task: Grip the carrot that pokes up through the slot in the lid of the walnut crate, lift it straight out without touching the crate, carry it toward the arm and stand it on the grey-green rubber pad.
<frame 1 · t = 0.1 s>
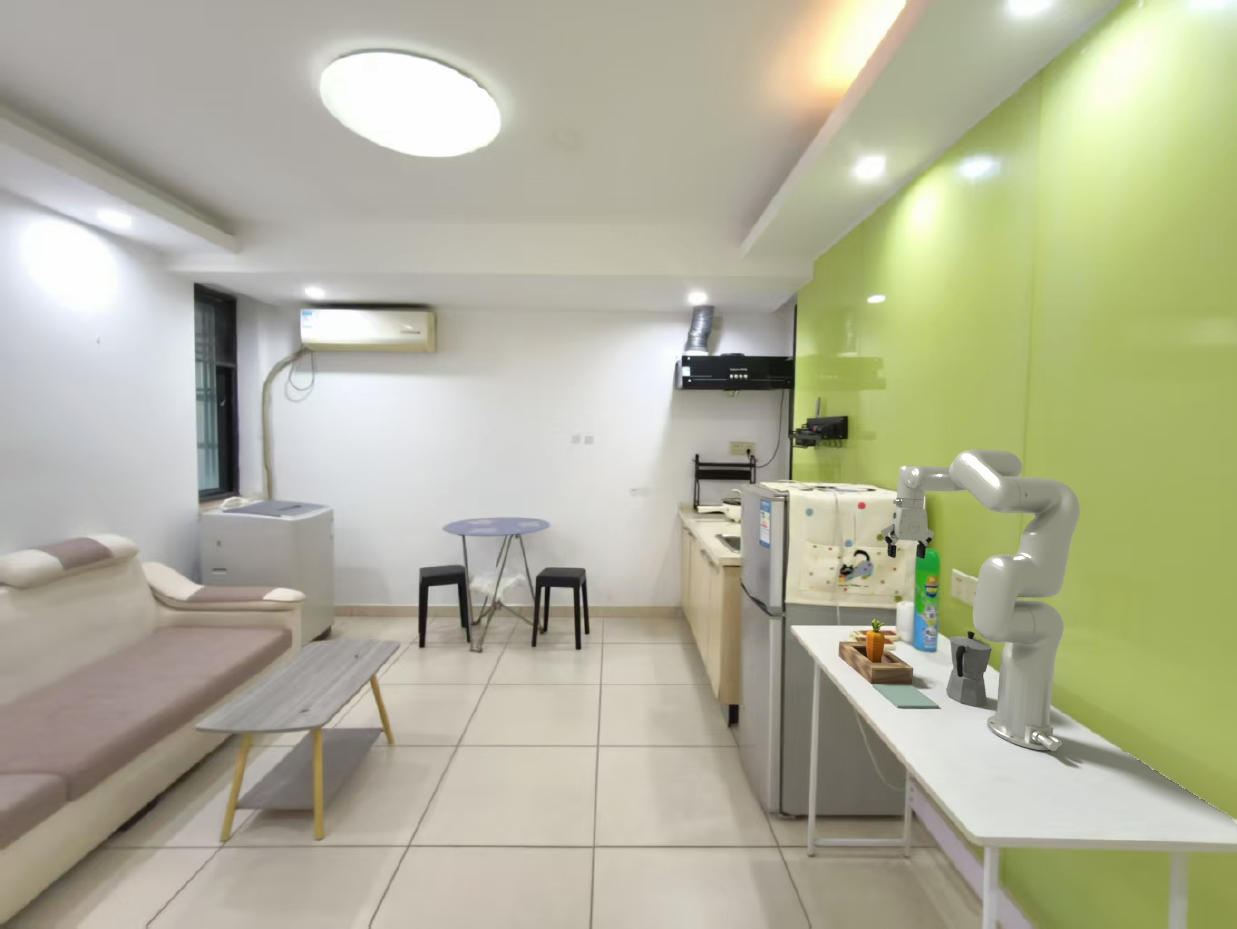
hand: (906, 557, 160), 31 cm above the table, fingers open, 9 cm apart
crate: (873, 669, 148), on the table
pad: (904, 696, 132), on the table
carrot: (873, 669, 148), resting in crate
coffeepot: (964, 700, 132), on the table
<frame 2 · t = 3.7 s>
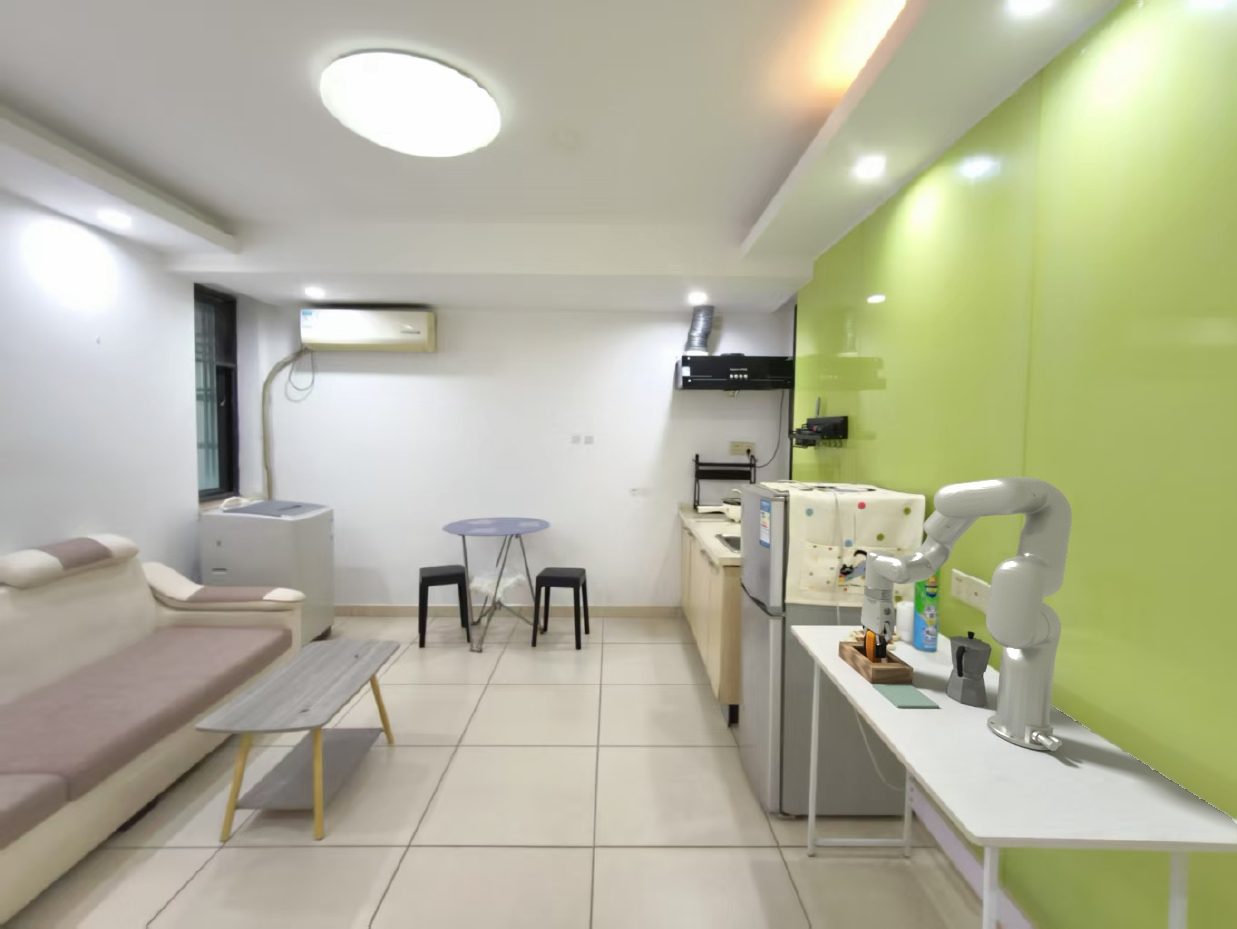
hand: (874, 652, 148), 5 cm above the table, fingers closed on carrot, 5 cm apart
carrot: (873, 669, 148), resting in crate, touching gripper
everything else where it was.
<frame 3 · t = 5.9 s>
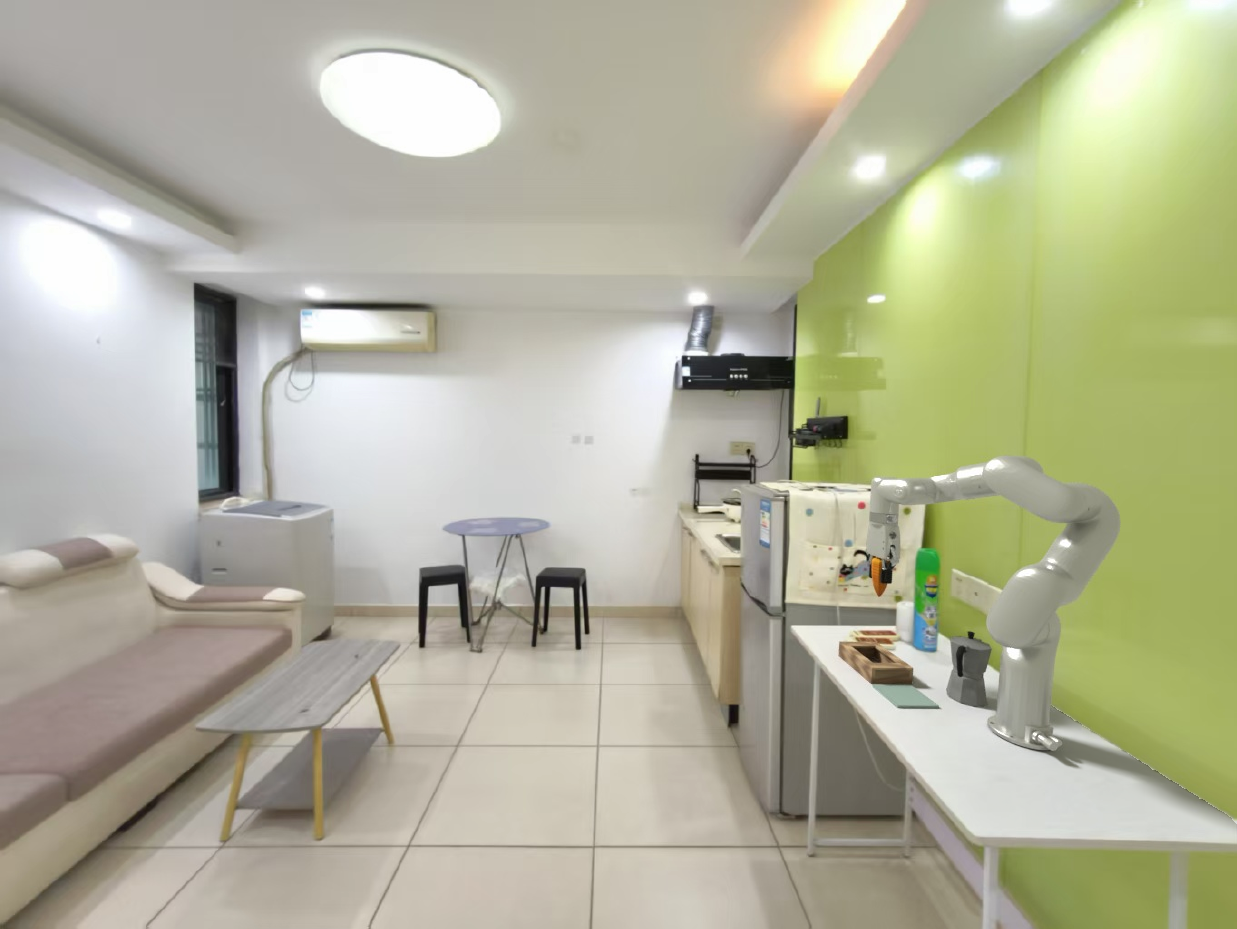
hand: (880, 580, 147), 27 cm above the table, fingers closed on carrot, 5 cm apart
carrot: (879, 597, 147), point 22 cm above the table, touching gripper
everything else where it was.
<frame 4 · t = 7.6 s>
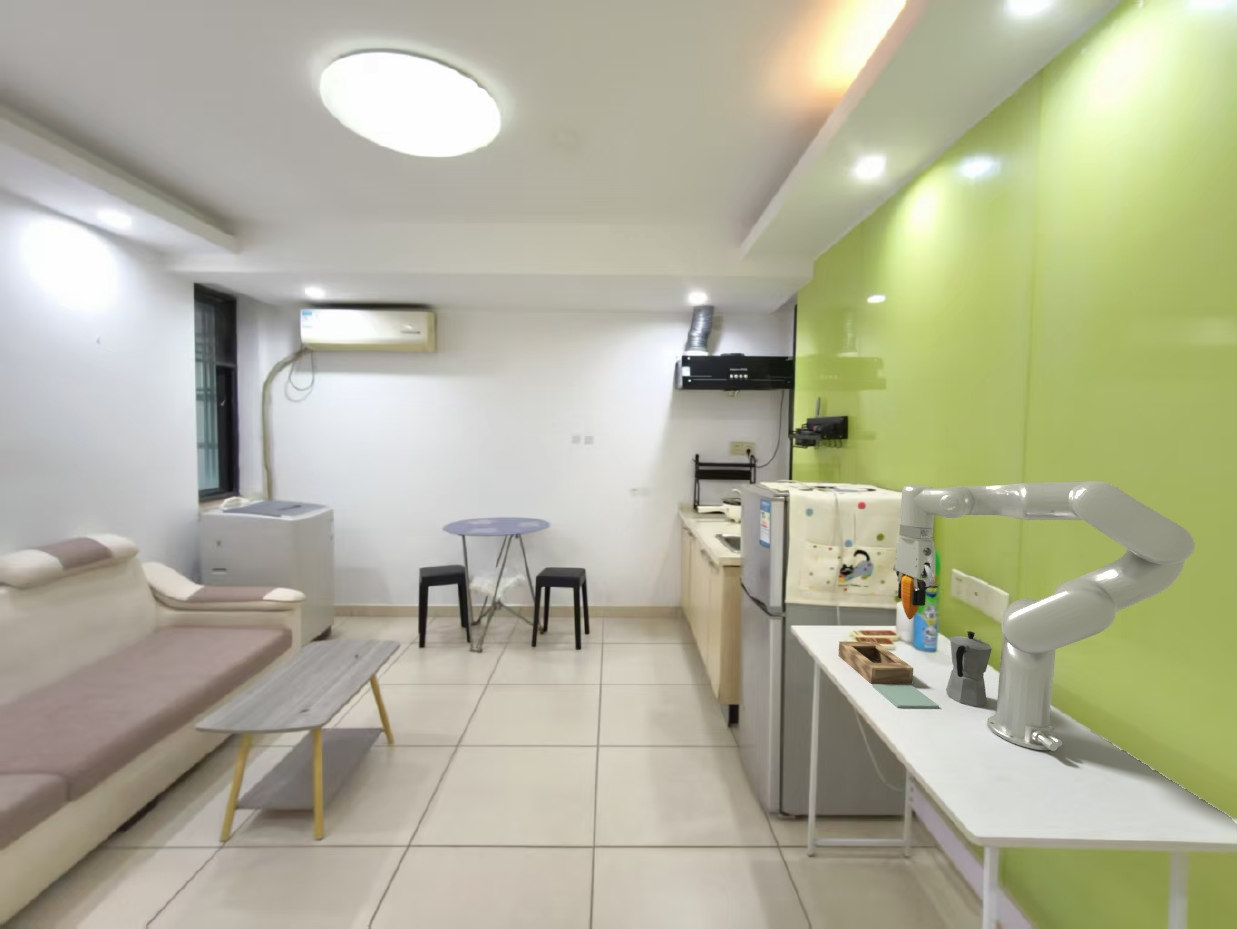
hand: (911, 600, 131), 26 cm above the table, fingers closed on carrot, 5 cm apart
carrot: (909, 620, 131), point 21 cm above the table, touching gripper
everything else where it was.
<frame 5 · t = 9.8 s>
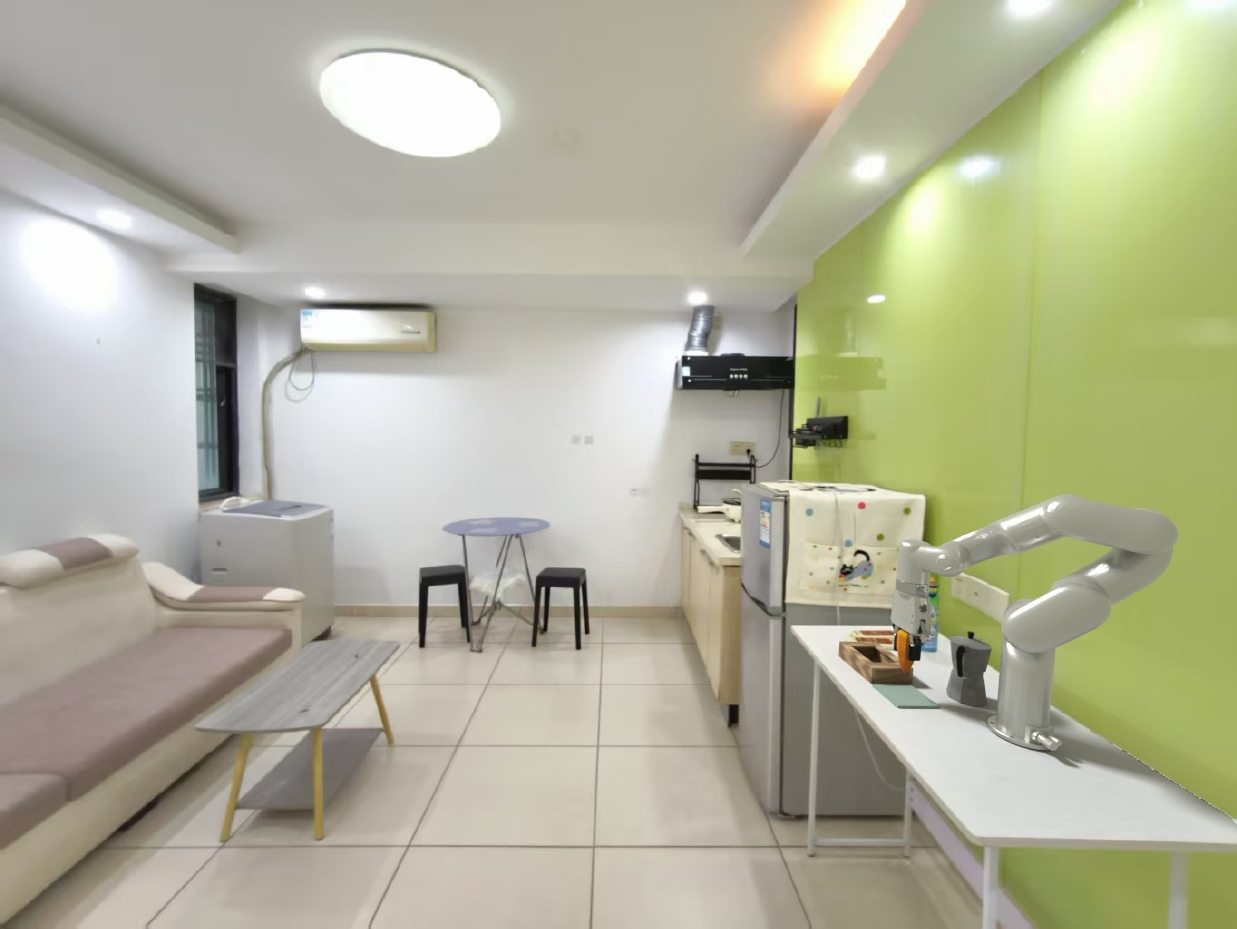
hand: (906, 654, 132), 11 cm above the table, fingers closed on carrot, 5 cm apart
carrot: (904, 673, 132), point 6 cm above the table, touching gripper
everything else where it was.
when the fingers open (7 cm above the table, at t = 11.7 s): carrot drops 1 cm, resting on pad.
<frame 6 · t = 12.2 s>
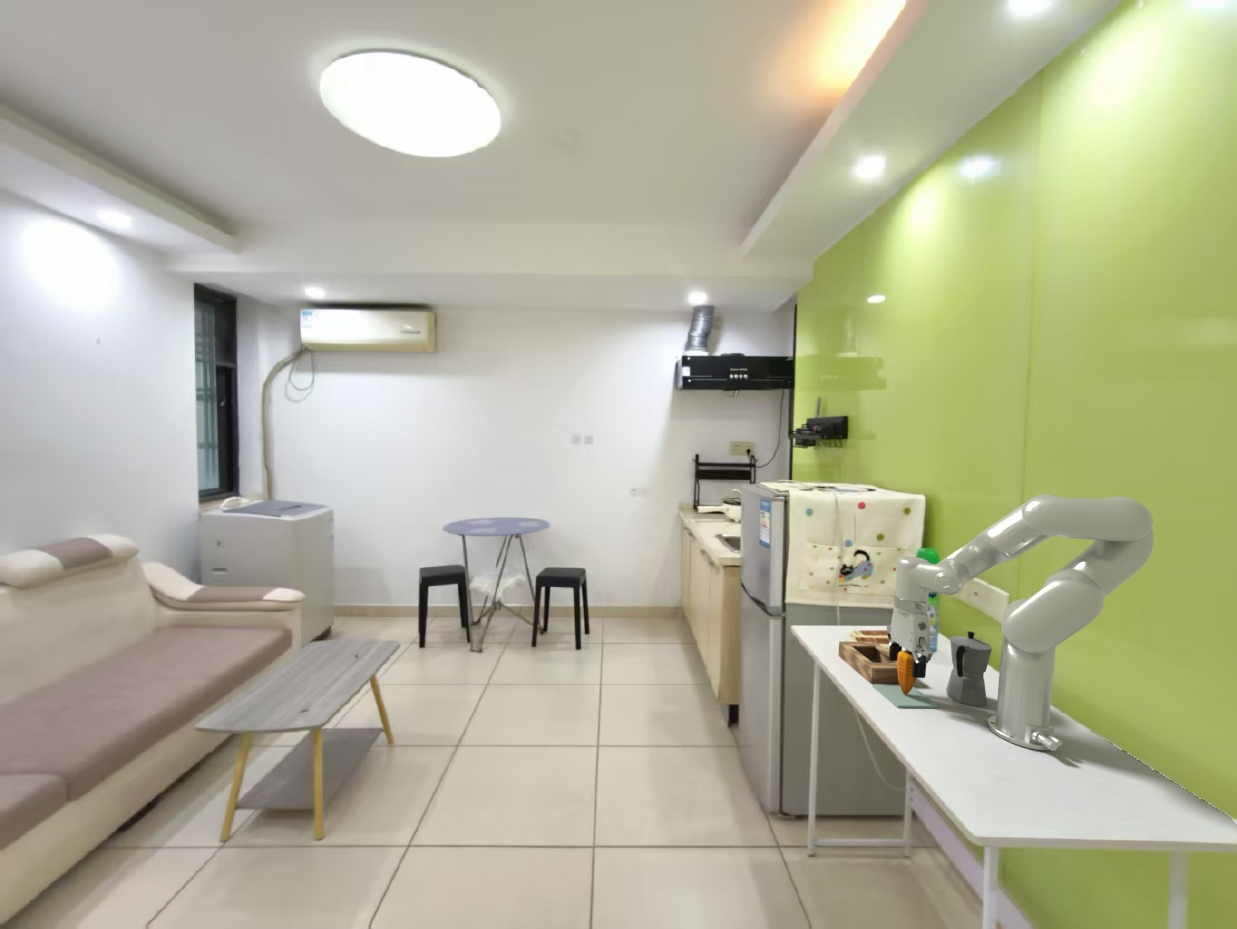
hand: (906, 668, 132), 8 cm above the table, fingers open, 9 cm apart
carrot: (905, 695, 132), resting on pad
everything else where it was.
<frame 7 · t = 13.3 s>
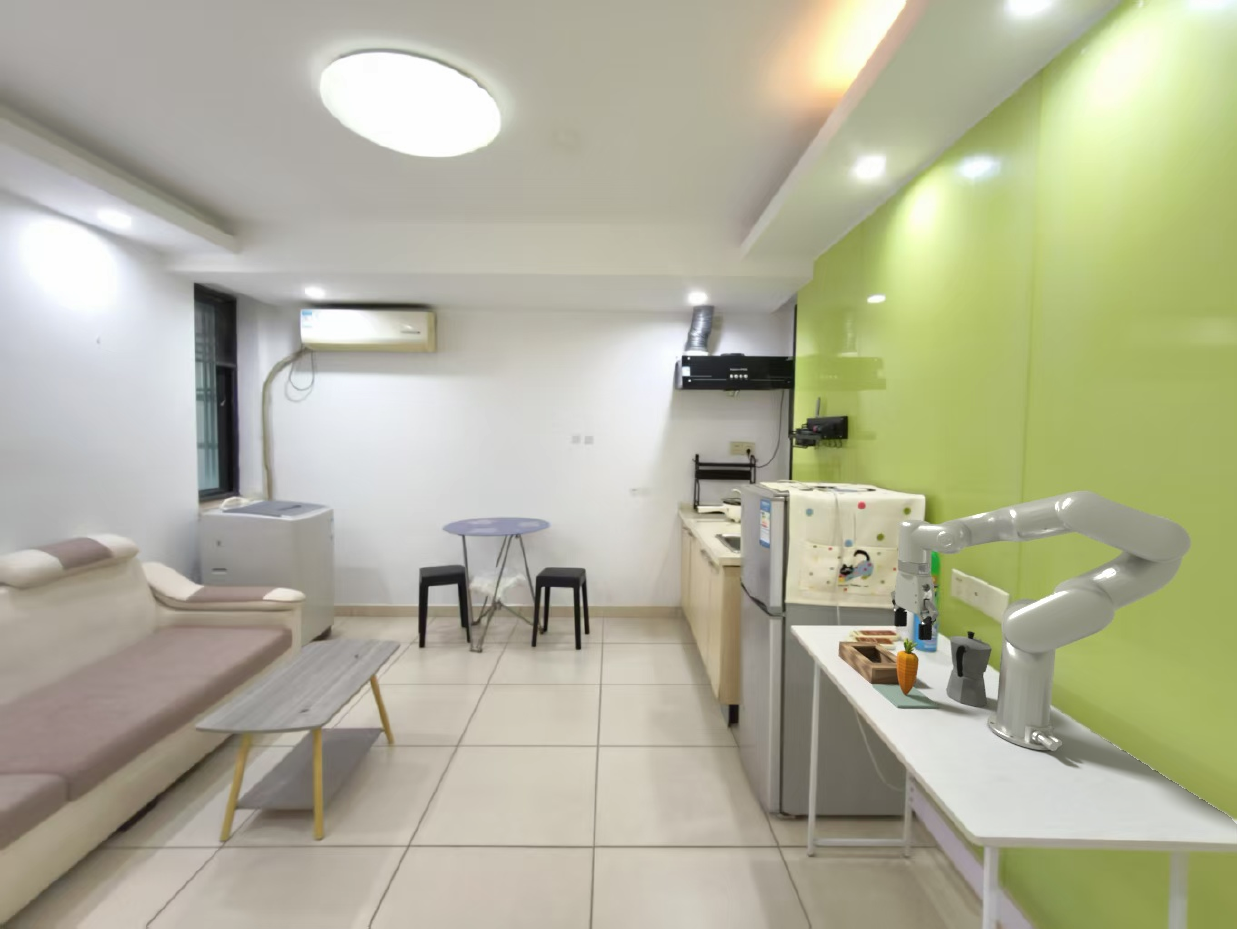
hand: (912, 632, 131), 17 cm above the table, fingers open, 9 cm apart
nothing on the table moved.
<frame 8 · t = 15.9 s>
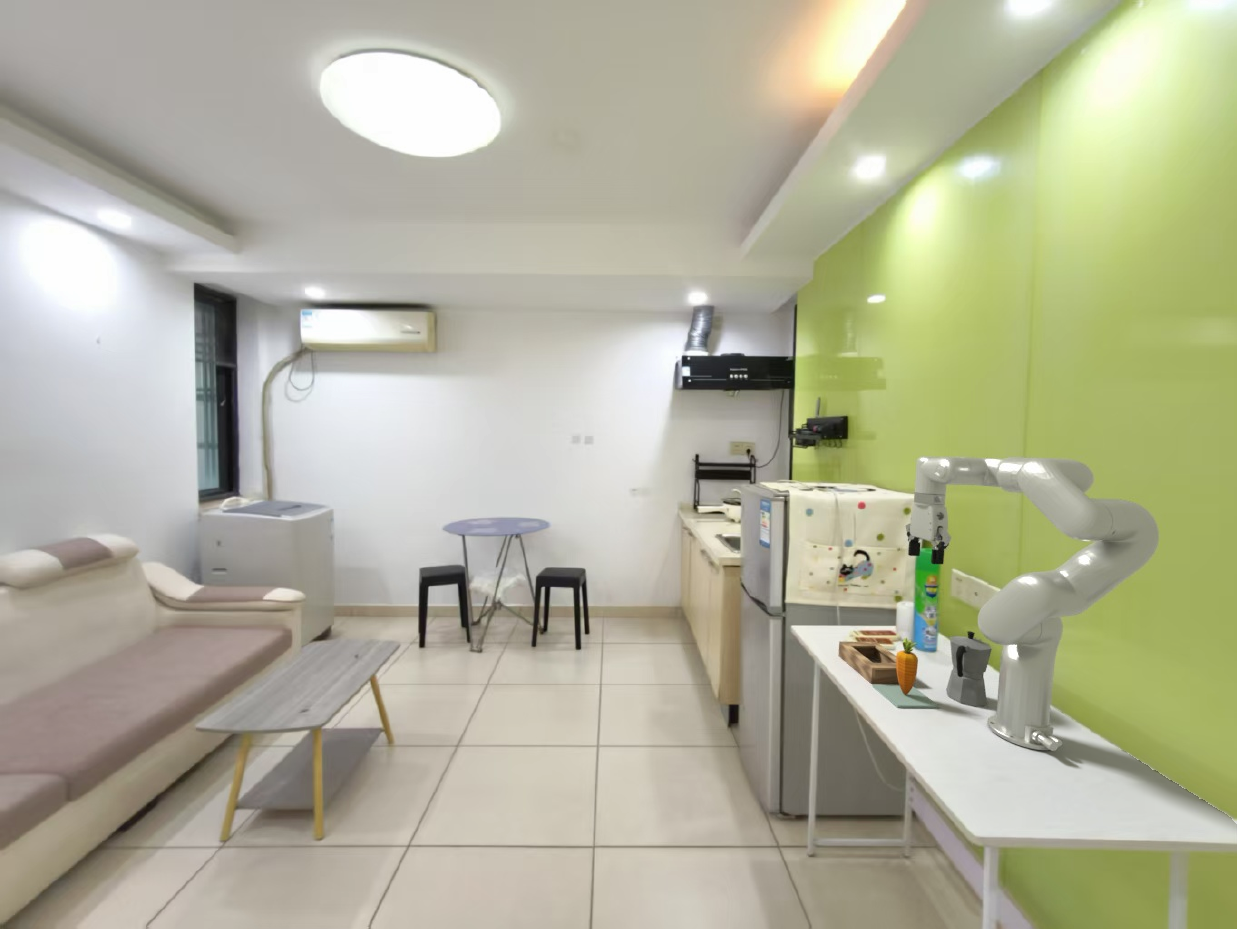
hand: (925, 559, 142), 34 cm above the table, fingers open, 9 cm apart
nothing on the table moved.
at the end: carrot inside the target area on the pad (0.1 cm from its centre), point 0.4 cm above the pad's base; carrot tilted 0°; carrot touching pad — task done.
